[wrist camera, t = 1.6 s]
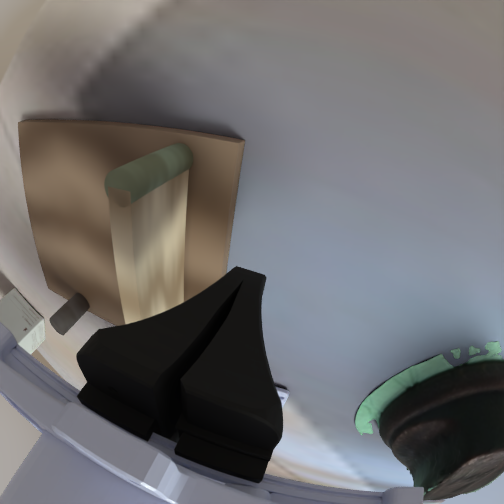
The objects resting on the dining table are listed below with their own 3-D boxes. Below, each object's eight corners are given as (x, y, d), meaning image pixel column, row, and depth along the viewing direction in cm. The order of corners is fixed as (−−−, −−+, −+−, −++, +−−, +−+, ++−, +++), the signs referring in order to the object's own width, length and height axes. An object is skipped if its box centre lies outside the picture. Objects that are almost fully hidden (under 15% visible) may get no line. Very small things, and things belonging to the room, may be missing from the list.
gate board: (215, 358, 24) (192, 403, 20) (54, 283, 28) (25, 309, 24) (244, 140, 15) (203, 162, 11) (26, 119, 18) (-19, 135, 14)
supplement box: (45, 318, 34) (-9, 375, 23) (46, 339, 38) (1, 390, 27) (14, 285, 33) (-40, 336, 23) (18, 309, 37) (-28, 355, 27)
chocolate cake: (500, 432, 21) (505, 493, 13) (358, 452, 29) (347, 518, 21) (564, 319, 13) (600, 404, 5) (355, 356, 20) (341, 470, 13)
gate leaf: (188, 346, 23) (159, 394, 18) (166, 337, 23) (135, 382, 19) (198, 146, 14) (138, 174, 10) (164, 140, 14) (100, 166, 10)
